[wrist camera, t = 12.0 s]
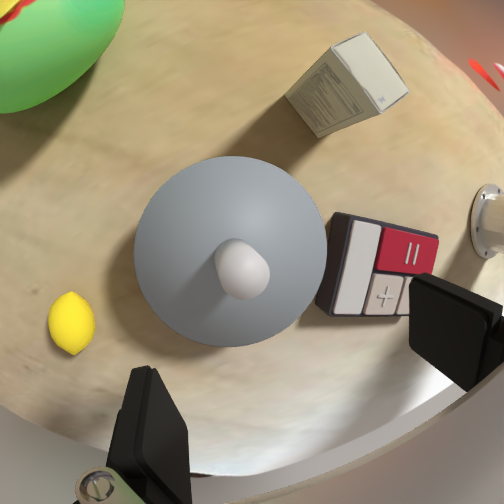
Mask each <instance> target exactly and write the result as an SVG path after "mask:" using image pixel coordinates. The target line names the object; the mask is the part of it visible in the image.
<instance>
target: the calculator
mask: <svg viewBox="0 0 504 504" xmlns="http://www.w3.org/2000/svg"><path fill="white" fill-rule="evenodd" d="M438 244H439V240H438V236H437V235H435V234H431V233H427V232H423V231H419V230H415V229H411V228H407V227H403V226H399V225H395V224H390V223H386V222H382V221H377V220H373V219H369V218H364V217H360V216H355V215H350V214H345V213H340V212H335V213H334V214H333V219H332V224H331V229H330V235H329V240H328V245H327V259H326V267H325V271H324V275H323V278H322V281H321V284H320V286H319V289H318V292H317V296H316V300H315V304H316V305H317V306H318V307H319V308H320V309H321V310H323V311H324V312H325V313H326V314H327V315H329V316H336V317H380V316H409V283H410V282H411V279H412V278H413V277H415V276H417V275H419V274H421V273H424V272H426V273H429V274H432V270H433V266H434V262H435V258H436V253H437V249H438Z"/></svg>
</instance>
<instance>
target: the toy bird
mask: <svg viewBox="0 0 504 504" xmlns="http://www.w3.org/2000/svg"><path fill="white" fill-rule="evenodd" d="M124 5H125V0H0V113H13V112H19V111H22V110H26V109H29V108H31V107H34V106H36V105H38V104H41V103H43V102H45V101H46V100H48V99H50V98H52V97H54V96H55V95H57V94H58V93H60V92H61V91H63V90H64V89H66V88H67V87H68V86H70V85H71V84H72V83H74V82H75V81H76V80H77V79H78V78H80V77H81V76H82V75H83V74H84V73H85V72H86V71H87V70H88V69H89V68H90V67H91V66H92V65H93V64H94V63H95V62H96V61H97V60H98V58H99V57H100V56H101V55H102V54H103V52H104V51H105V50H106V48H107V47H108V46H109V44H110V43H111V41H112V39H113V38H114V36H115V34H116V32H117V30H118V28H119V25H120V23H121V20H122V16H123V12H124Z"/></svg>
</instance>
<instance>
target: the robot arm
mask: <svg viewBox="0 0 504 504" xmlns="http://www.w3.org/2000/svg"><path fill="white" fill-rule="evenodd" d="M471 237H472V242H473V246H474V248H475V250H476V252H477V254H479V255H480V256H481V257H484V258H488V259H489V258H492V257H494V256H495V255H496V254H497V253H498V252H499V253H503V254H504V193H503V191H502V190H501V188H500V187H498V186H497V185H495V184H486V185H484V186H483V187H482V188H481V189H480V191H479V192H478V194H477V196H476V198H475V201H474V204H473V208H472V214H471ZM502 309H503V306H502V305H500V304H498V303H496V302H493V301H491V300H489V299H487V298H485V297H482V296H480V295H478V294H476V293H473V292H471V291H469V290H466V289H464V288H462V287H460V286H457V285H455V284H453V283H450V282H448V281H445V280H443V279H441V278H438V277H436V276H433V275H431V274H429V273H426V272H424V273H421V274H419V275H417V276H415V277H413V278H412V279H411V282H410V283H409V345H410V347H411V349H412V350H413V351H415V352H416V353H417V354H419V355H420V356H421V357H422V358H424V359H425V360H426V361H428V362H429V363H430V364H431V365H433V366H434V367H435V368H436V369H438V370H439V371H440V372H442V373H443V374H444V375H445V376H447V377H448V378H449V379H450V380H452V381H453V382H454V383H456V384H457V385H458V386H459V387H461V388H462V389H463V390H465V391H466V392H467V393H466V394H464V395H463V396H462V397H461V398H459V399H458V400H456V401H455V402H454V403H453V404H451V405H450V406H448V407H447V408H445V409H444V410H442V411H441V412H440V413H438V414H437V415H435V416H434V417H432V418H431V419H429V420H428V421H426V422H424V423H423V424H421V425H420V426H418V427H416V428H415V429H413V430H412V431H410V432H408V433H406V434H405V435H403V436H401V437H400V438H398V439H396V440H394V441H392V442H391V443H389V444H387V445H385V446H383V447H381V448H379V449H377V450H375V451H374V452H372V453H370V454H368V455H365V456H363V457H361V458H359V459H357V460H355V461H353V462H351V463H348V464H346V465H344V466H342V467H339V468H337V469H334V470H332V471H330V472H327V473H324V474H322V475H320V476H317V477H314V478H312V479H309V480H306V481H303V482H300V483H297V484H294V485H291V486H288V487H285V488H282V489H279V490H275V491H272V492H268V493H264V494H261V495H257V496H254V497H249V498H245V499H241V500H237V501H233V502H228V503H223V504H504V317H503V316H502ZM75 494H76V497H77V499H78V500H77V501H76V502H74V503H73V504H192V495H191V483H190V465H189V446H188V430H187V426H186V423H185V422H184V420H183V418H182V416H181V415H180V413H179V411H178V409H177V407H176V405H175V404H174V402H173V400H172V398H171V396H170V394H169V392H168V391H167V389H166V387H165V385H164V383H163V381H162V379H161V377H160V375H159V373H158V371H157V369H156V368H153V369H151V367H150V366H148V365H147V366H142V367H138V368H133V369H132V371H131V374H130V378H129V381H128V385H127V389H126V392H125V396H124V400H123V404H122V408H121V410H119V412H118V415H117V419H116V423H115V427H114V431H113V435H112V440H111V444H110V448H109V453H108V458H107V462H106V467H95V468H92V469H89V470H87V471H86V472H84V473H83V474H82V475H81V476H80V478H79V479H78V480H77V483H76V485H75Z"/></svg>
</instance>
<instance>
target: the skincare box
mask: <svg viewBox="0 0 504 504" xmlns="http://www.w3.org/2000/svg"><path fill="white" fill-rule="evenodd" d="M408 93H409V89H408V88H407V86H406V84H405V83H404V81H403V80H402V78H401V77H400V75H399V74H398V72H397V71H396V69H395V68H394V66H393V65H392V64H391V62H390V61H389V60H388V58H387V57H386V56H385V54H384V53H383V52H382V51H381V49H380V48H379V47H378V46H377V44H376V43H375V42H374V41H373V40H372V39H371V37H370V36H369V35H368V34H367V33H366V32H362V33H360V34H357V35H355V36H352V37H350V38H347V39H345V40H343V41H341V42H339V43H337V44H334V45H333V46H331V47H330V48H329V49H328V50H327V51H326V52H325V53H324V54H323V55H322V56H321V57H320V58H319V59H318V60H317V61H316V62H315V63H314V64H313V65H312V66H311V67H310V68H309V69H308V70H307V71H306V72H305V73H304V74H303V75H302V76H301V77H300V79H299V80H298V81H297V82H296V83H295V84H294V85H293V86H292V87H291V88H290V89H289V90H288V91H287V92H286V93H285V97H286V98H287V99H288V101H289V102H290V103H291V105H292V106H293V107H294V109H295V110H296V111H297V112H298V114H299V115H300V116H301V117H302V119H303V120H304V121H305V123H306V124H307V125H308V126H309V128H310V129H311V130H312V131H313V133H314V134H315V135H316V136H317V138H321V137H323V136H326V135H328V134H331V133H333V132H336V131H338V130H341V129H343V128H346V127H348V126H351V125H353V124H356V123H358V122H361V121H363V120H366V119H368V118H371V117H374V116H377V115H379V114H382V113H383V112H385V111H386V110H388V109H389V108H390V107H392V106H393V105H395V104H396V103H397V102H399V101H400V100H401V99H402V98H404V97H405V96H406V95H407V94H408Z"/></svg>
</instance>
